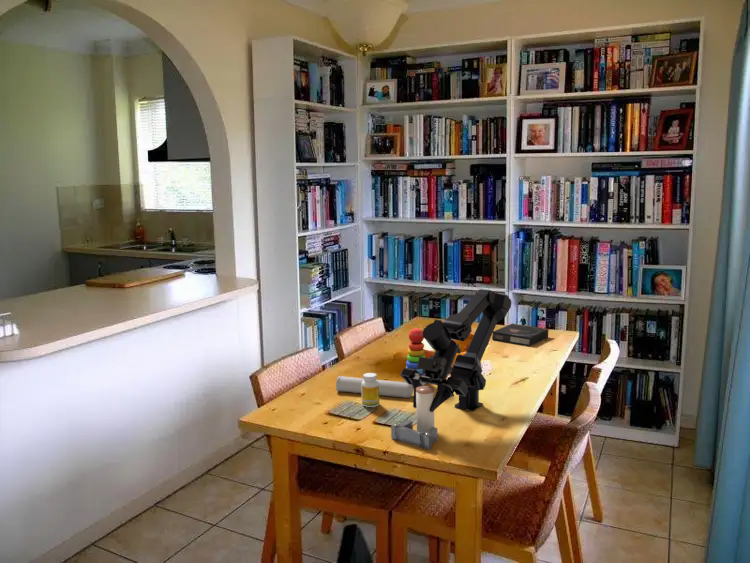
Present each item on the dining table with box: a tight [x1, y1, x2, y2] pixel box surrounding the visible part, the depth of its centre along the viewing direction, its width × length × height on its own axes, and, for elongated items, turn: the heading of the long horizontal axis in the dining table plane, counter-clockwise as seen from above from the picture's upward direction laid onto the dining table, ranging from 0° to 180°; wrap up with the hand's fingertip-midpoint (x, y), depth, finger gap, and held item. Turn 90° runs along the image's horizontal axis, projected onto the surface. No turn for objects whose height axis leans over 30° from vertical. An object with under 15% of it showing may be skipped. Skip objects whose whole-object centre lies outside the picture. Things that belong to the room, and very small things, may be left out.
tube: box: [335, 375, 414, 399], centre depth 208 cm, size 5×5×25 cm
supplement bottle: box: [361, 372, 380, 408], centre depth 198 cm, size 5×5×10 cm
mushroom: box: [415, 385, 435, 432], centre depth 176 cm, size 5×5×12 cm
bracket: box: [390, 419, 439, 450], centre depth 173 cm, size 6×12×4 cm, turn 52°
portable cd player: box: [491, 323, 549, 348], centre depth 268 cm, size 16×17×4 cm
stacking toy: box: [403, 327, 428, 386], centre depth 216 cm, size 8×8×19 cm
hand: (422, 409), depth 175 cm, fingers closed on mushroom, 5 cm apart
